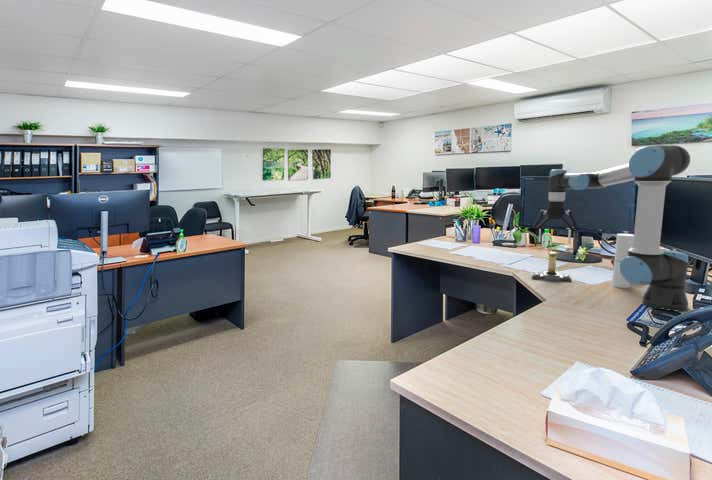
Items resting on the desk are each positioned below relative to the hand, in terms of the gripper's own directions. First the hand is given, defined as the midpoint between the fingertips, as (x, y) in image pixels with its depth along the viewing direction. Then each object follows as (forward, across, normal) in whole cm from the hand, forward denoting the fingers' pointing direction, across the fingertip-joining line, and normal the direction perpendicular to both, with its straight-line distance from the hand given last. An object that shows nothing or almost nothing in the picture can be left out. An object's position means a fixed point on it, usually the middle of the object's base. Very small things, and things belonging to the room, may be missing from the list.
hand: (554, 242), depth 209 cm
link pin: (+19, 0, 0) cm, 19 cm away
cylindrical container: (+20, -30, +3) cm, 36 cm away
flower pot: (+20, -34, -12) cm, 41 cm away
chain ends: (+19, 0, 0) cm, 19 cm away
